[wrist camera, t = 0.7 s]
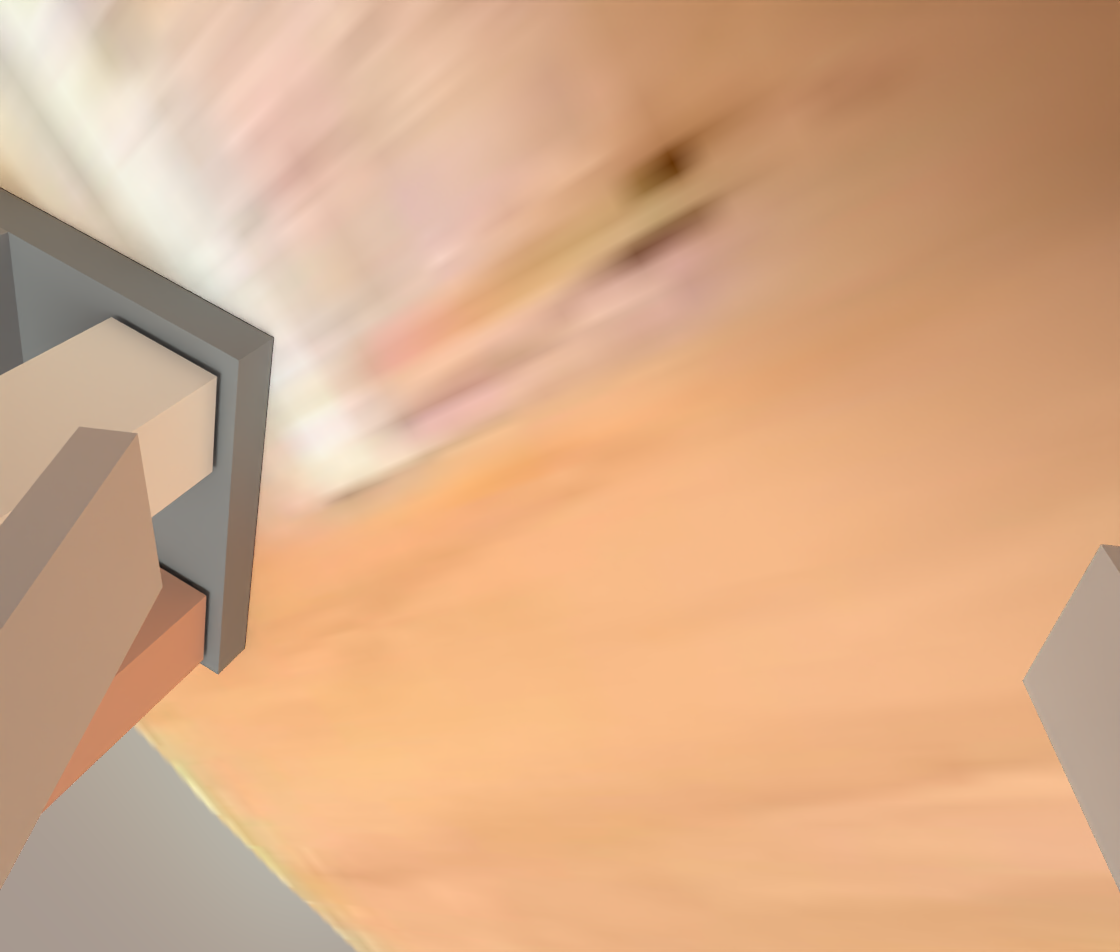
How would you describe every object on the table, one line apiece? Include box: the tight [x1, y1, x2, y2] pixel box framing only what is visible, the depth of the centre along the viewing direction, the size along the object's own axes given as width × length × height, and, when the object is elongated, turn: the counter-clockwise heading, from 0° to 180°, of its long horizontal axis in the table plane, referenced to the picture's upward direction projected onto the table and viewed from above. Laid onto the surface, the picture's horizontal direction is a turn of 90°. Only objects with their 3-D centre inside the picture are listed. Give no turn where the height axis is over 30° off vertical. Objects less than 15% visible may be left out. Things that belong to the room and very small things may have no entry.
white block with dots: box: [0, 317, 217, 525], centre depth 34 cm, size 5×5×12 cm
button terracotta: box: [42, 568, 206, 813], centre depth 43 cm, size 5×5×12 cm
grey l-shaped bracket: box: [0, 188, 273, 674], centre depth 43 cm, size 15×20×8 cm
